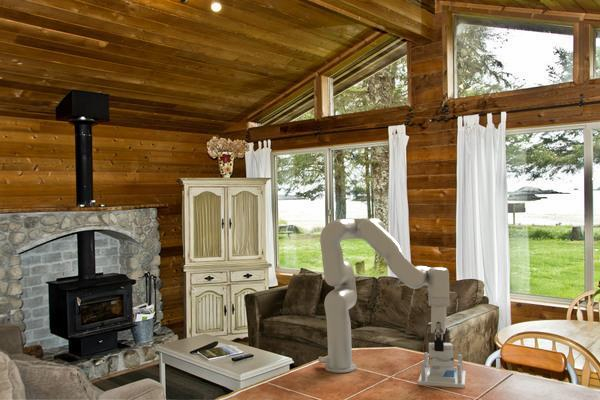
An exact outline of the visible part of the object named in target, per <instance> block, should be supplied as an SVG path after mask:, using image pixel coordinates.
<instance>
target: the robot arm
mask: <svg viewBox="0 0 600 400" xmlns="http://www.w3.org/2000/svg"><path fill="white" fill-rule="evenodd" d="M319 237H320V238H319V240H320V241H319V243H320V250H321V260H322V268H323V278H324V280H325V283H326V284H327V285H329V286H331V287H334V289H333V290H331V291H330V292H328V293H327V294H326V296H325V299H324V304H323V305H324V311H325V312H324V313H325V316H326V317H325V318H326V330H327V331H326V332H327V356H318V360H317V361H318V362H319V363H321V364H325V365H324V370H325V371H327V372H330V373H336V374H342V373H350V372H354V371H355V370H356V369H357V364H356V363H354V362H353V353H352V352H353V351H352V349H353V348H352V328H351V327H352V325H351V323H352V322H351V317H350V314H349V312H350V311H349V310H350V309H352V308H353V307H354V306H355V305H356V303H357V299H358V294H357V293H358V292H357V291H358V290H357V285H356V277H355V275H356V274H355V271H354V268H353V266H352V265H351V263H350V262H348V261H345V260H344V253H343V249H342V245H341V242H342V241H344V240H350V239H351V240H353V239H354V240H355V239H356V240H359V239H360V240H363V241H365V242H366V244H368V246H369V247H371V248H372V249H373V250H374V252H376V253H377V254H378V255H379V256H380V257H381V258H382V259H383V260H384V263H385V264H386V266H387V267H388V268H389V270H390V271H391V272H392V273H393V274H394V275H395V276H396V278H398V280H400V281H401V282H402V283H403V284H404V285H405V286H406V287H408V288H410V289H413V290H415V289H416V290H417V289H419V288H421V287H423V286H428V291H427V292H428V293H427V295H428V306H430V307H431V309H430V310H431V311H430V313H431V314H430V321H431V322H430V325H431V326H430V333H431V334H434V340H433V341H434V342H433V343H434V350H435V351H441V352H443V351H444V343H446V330H447V308H448V307H449V306H450V305H451V304H450V302H451V301H450V299H451V298H450V297H451V296H450V272H449V269H448V268H447V267H436V266H435V267H430V266H429V267H428V266H424V265H416V266H415V265H414V264H412V262H411V261H409V259H407V257H406V256H405V255H404V254H403V251H402V249H401V245H400V243H399V241H398V240H396V239H395V238H394V236H392V235H391V234H390V233H389V232H388V231H387V230H386V228H385V224H384V222H383V221H382V220H381V219H379V218H376V217H375V218H374V217H373V218H372V217H370V218H338V219H334V220H331V221H330V222H329V223H327V224H326V225H325V226H324V227H323V229H322V230H321V232H320V236H319Z"/></svg>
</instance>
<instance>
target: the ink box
mask: <svg viewBox="0 0 600 400" xmlns="http://www.w3.org/2000/svg"><path fill="white" fill-rule="evenodd" d="M454 355H455V354H454V345H453V343H452V342H445V343H444V351H443V352H441V351H435V350H434V342H428V369H430V376H437V377H453V378H454V377H455V376H454V367H455V359H454V358H455V357H454Z"/></svg>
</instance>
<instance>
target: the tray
mask: <svg viewBox="0 0 600 400" xmlns="http://www.w3.org/2000/svg"><path fill="white" fill-rule="evenodd" d="M457 356H458V357H457V358H458V359H457V361H458V363H457V364H456V366H454V376H455V377H454V378H453V377H437V376H430V368H429V352H423V358H424V359H423V361H420V375H419V377H418V380H417V385H418V386H432V387H444V388H445V387H446V388H460V389H461V388H462V389H465V388H466V377H467V375H466V374H467V371H466V370H463V369H464V367H463V354H461V353H459V354H457Z"/></svg>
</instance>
